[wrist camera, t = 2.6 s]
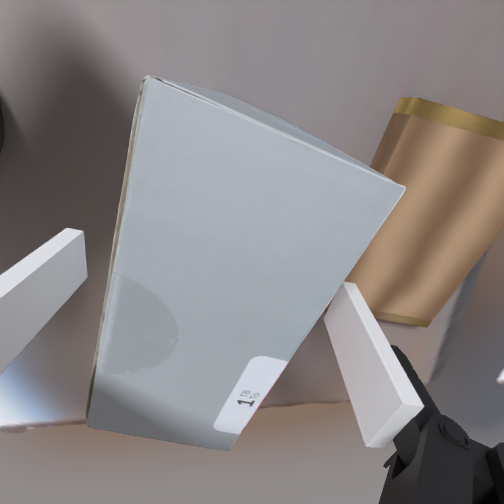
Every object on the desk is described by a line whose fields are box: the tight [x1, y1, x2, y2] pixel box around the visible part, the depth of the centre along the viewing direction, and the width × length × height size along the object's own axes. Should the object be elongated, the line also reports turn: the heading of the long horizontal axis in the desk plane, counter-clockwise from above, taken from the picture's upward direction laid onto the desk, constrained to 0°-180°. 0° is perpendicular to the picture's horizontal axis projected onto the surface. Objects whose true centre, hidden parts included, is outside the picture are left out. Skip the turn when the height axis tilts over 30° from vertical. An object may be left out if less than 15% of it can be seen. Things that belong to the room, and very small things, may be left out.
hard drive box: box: [86, 76, 406, 451], centre depth 19 cm, size 16×8×20 cm, turn 158°
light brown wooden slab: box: [325, 98, 504, 327], centre depth 28 cm, size 14×22×3 cm, turn 167°
